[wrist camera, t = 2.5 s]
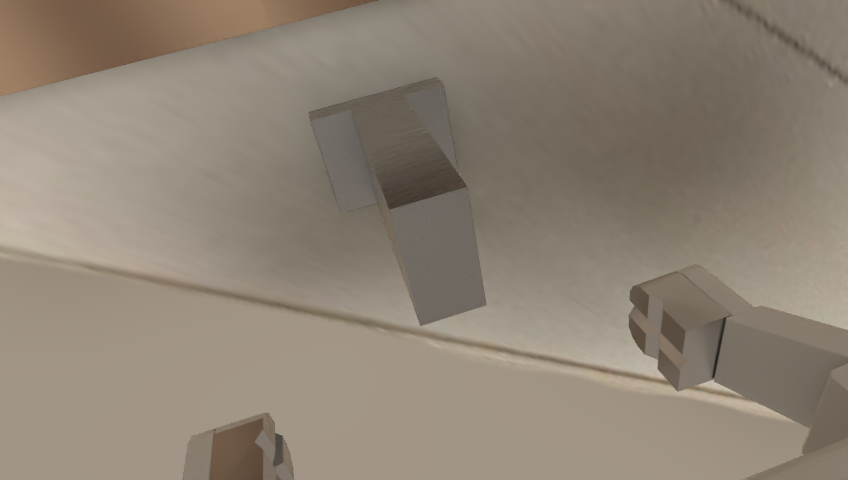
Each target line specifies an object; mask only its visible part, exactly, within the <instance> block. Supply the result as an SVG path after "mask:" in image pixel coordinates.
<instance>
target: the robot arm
mask: <svg viewBox="0 0 848 480" xmlns="http://www.w3.org/2000/svg"><path fill="white" fill-rule="evenodd" d="M630 301H631V302H632V303H633V304H634V305H635V307H634V308H633V310H632V311H631V313H630V314H629V328H630V331H631V334H632V337H633V339H634V341H635V342H636V344H637V346H638V347H639V348H640V349H641V350H642V352H643V353H644V354H645V355H648V356H650V357H653V358H655V359H658V370H659V371H660V372H661V373H662V374H663V376H664V377H665V378H666V379H667V380H668V381H669V382H670V383H671V385H672V386H673V387H674V388H675V389H676V390H677V391H681V390H684V389H687V388H690V387H693V386H695V385H698V384H701V383H704V382H707V381H710V380H713V379H714V382H716V383H718V384H721V385H723V386H725V387H727V388H729V389H731V390H733V391H735V392H737V393H739V394H741V395H743V396H745V397H747V398H749V399H751V400H753V401H755V402H757V403H759V404H761V405H763V406H765V407H767V408H769V409H771V410H773V411H775V412H778V413H780V414H782V415H784V416H786V417H788V418H790V419H792V420H794V421H796V422H798V423H800V424H802V425H804V426H806V427H808V428H809V430H808V433H807V436H806V438H805V441H804V444H803V449H802V453H803V456H800V457H798V458H795V459H793V460H790V461H788V462H785V463H783V464H780V465H778V466H775V467H773V468H770V469H768V470H765V471H763V472H760V473H757V474H755V475H752V476H750V477H747V478H745V479H742V480H848V330H846V329H842V328H839V327H835V326H831V325H828V324H824V323H821V322H817V321H814V320H810V319H807V318H803V317H800V316H796V315H792V314H789V313H785V312H782V311H778V310H775V309H771V308H768V307H764V306H758V307H755V308H754V307H753V306H752V305H751V304H749V303H748V302H747V301H746V300H744V299H743V298H742V297H740V296H739V295H738V294H737V293H735V292H734V291H733V290H731V289H730V288H729V287H728V286H726V285H725V284H724V283H723V282H721V281H720V280H719V279H717V278H716V277H715V276H714V275H712V274H711V273H710V272H708V271H707V270H706V269H705V268H703V267H702V266H699V265H696V264H695V265H692V266H689V267H686V268H683V269H680V270H678V271H675V272H673V273H669V274H666V275H663V276H660V277H657V278H655V279H652V280H649V281H646V282H643V283H640V284H638V285H635V286H633V287H632V289H631V291H630ZM182 480H294V474H293V465H292V460H291V455H290V452H289V449H288V447H287V444H286V442H285V440H284V438H283V436H281V435H279V434H276V433H275V423H274V421H273V419H272V418H271V416H270V414H269V413H262V414H259V415H256V416H253V417H249V418H246V419H243V420H240V421H237V422H234V423H230V424H227V425H224V426H221V427H218V428H216V429H213V430H210V431H206V432H203V433H200V434H197V435H194V436H192V437H191V439H190V441H189V443H188V445H187V452H186V459H185V465H184V472H183V479H182Z"/></svg>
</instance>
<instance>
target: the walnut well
mask: <svg viewBox="0 0 848 480" xmlns="http://www.w3.org/2000/svg"><path fill="white" fill-rule="evenodd" d="M373 1H377V0H0V96H4V95H8V94H12V93H16V92H20V91H24V90H27V89H31V88H35V87H39V86H43V85H47V84H51V83H55V82H59V81H63V80H67V79H71V78H75V77H78V76H82V75H86V74H90V73H94V72H98V71H102V70H106V69H110V68H114V67H118V66H122V65H126V64H129V63H133V62H137V61H141V60H145V59H149V58H153V57H157V56H161V55H165V54H169V53H173V52H177V51H181V50H184V49H188V48H192V47H196V46H200V45H204V44H208V43H212V42H216V41H220V40H224V39H228V38H232V37H235V36H239V35H243V34H247V33H251V32H255V31H259V30H263V29H267V28H271V27H275V26H279V25H283V24H286V23H290V22H294V21H298V20H302V19H306V18H310V17H314V16H318V15H322V14H326V13H330V12H334V11H338V10H341V9H345V8H349V7H353V6H357V5H361V4H365V3H369V2H373Z"/></svg>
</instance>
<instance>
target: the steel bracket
mask: <svg viewBox="0 0 848 480" xmlns="http://www.w3.org/2000/svg"><path fill="white" fill-rule="evenodd" d="M309 115H310V121H311V124H312V127H313V130H314V133H315V136H316V139H317V142H318V145H319V148H320V151H321V154H322V157H323V160H324V163H325V166H326V169H327V172H328V175H329V178H330V181H331V184H332V187H333V190H334V193H335V196H336V199H337V202H338V205H339V208H340V211H341V214H342V213H346V212H349V211H352V210H356V209H359V208H363V207H366V206H369V205H373V204H376V203H378V206H379V209H380V212H381V215H382V218H383V220H384V223H385V226H386V229H387V232H388V235H389V238H390V240H391V243H392V246H393V249H394V252H395V255H396V257H397V260H398V263H399V266H400V269H401V272H402V275H403V277H404V280H405V283H406V286H407V289H408V292H409V294H410V297H411V300H412V303H413V306H414V309H415V311H416V314H417V317H418V320H419V323H420V326H422V325H425V324H428V323H431V322H435V321H438V320H441V319H444V318H447V317H450V316H453V315H457V314H460V313H463V312H466V311H469V310H472V309H476V308H479V307H482V306H485V305H486V300H485V294H484V288H483V281H482V275H481V269H480V263H479V257H478V250H477V244H476V238H475V232H474V226H473V219H472V213H471V207H470V201H469V195H468V188H467V186H466V184H465V183H464V181H463V180H462V178H461V177H460V176H459V174H458V168H457V163H456V157H455V151H454V145H453V139H452V133H451V127H450V121H449V115H448V110H447V104H446V98H445V92H444V86H443V84H442V83H441V82H440V81H439V80H438V79H437V78H432V79H429V80H425V81H421V82H417V83H414V84H410V85H406V86H403V87H399V88H395V89H392V90H388V91H384V92H381V93H377V94H373V95H370V96H366V97H362V98H359V99H355V100H351V101H348V102H344V103H340V104H337V105H333V106H329V107H326V108H322V109H318V110H315V111H311V112H309Z"/></svg>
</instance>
